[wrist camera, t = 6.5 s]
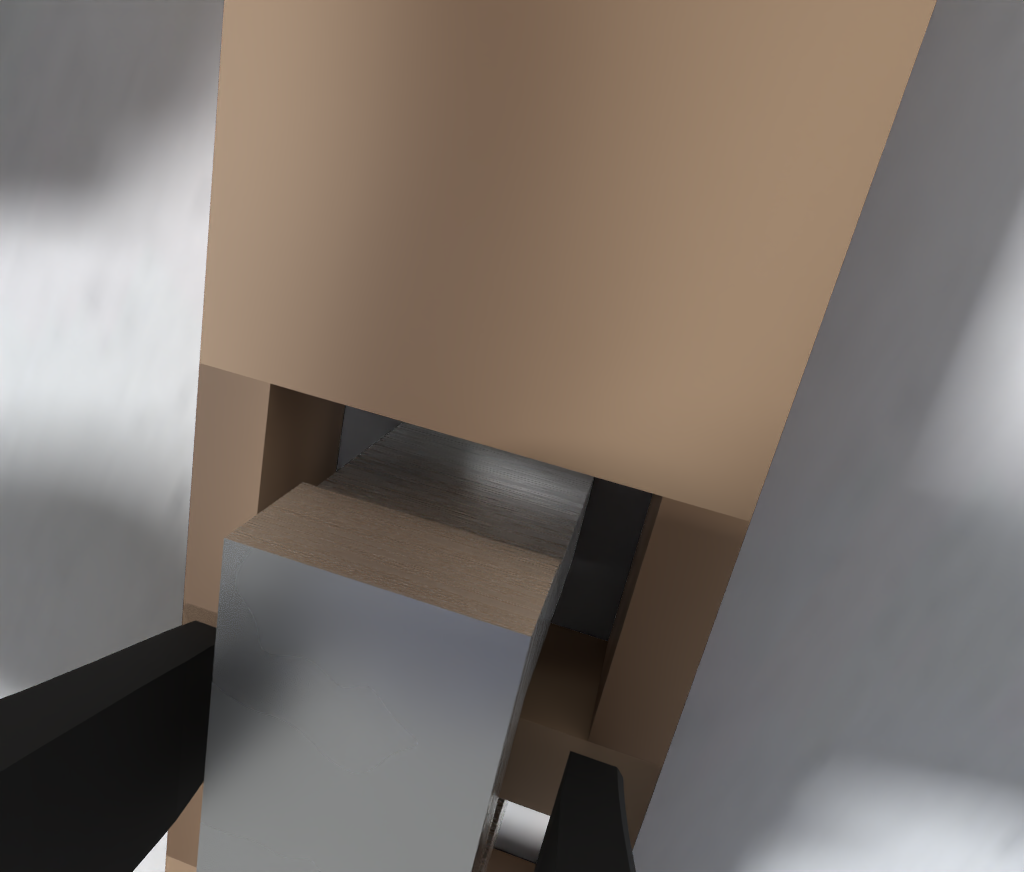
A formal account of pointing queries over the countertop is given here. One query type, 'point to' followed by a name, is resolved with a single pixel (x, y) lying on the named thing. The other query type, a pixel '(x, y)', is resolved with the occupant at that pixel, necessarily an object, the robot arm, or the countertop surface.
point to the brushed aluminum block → (382, 658)
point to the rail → (537, 286)
